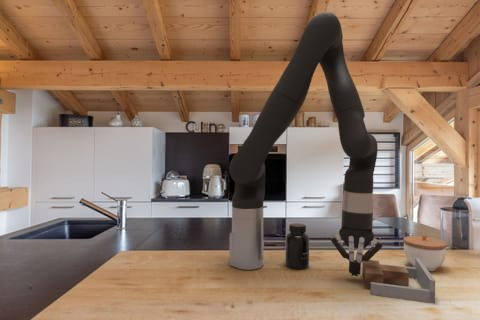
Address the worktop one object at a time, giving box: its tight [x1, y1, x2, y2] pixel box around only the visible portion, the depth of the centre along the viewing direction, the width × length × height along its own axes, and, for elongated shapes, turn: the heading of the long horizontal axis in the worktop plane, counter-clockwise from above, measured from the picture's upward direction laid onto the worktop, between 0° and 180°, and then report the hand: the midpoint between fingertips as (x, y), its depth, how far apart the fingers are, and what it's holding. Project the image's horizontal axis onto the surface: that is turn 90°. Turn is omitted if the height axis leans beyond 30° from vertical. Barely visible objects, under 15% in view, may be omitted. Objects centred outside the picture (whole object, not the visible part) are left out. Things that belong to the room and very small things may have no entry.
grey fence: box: [370, 258, 436, 304], centre depth 77 cm, size 13×15×5 cm
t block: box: [361, 259, 410, 290], centre depth 78 cm, size 10×10×4 cm
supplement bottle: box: [284, 223, 310, 270], centre depth 90 cm, size 7×7×12 cm
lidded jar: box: [402, 234, 448, 272], centre depth 89 cm, size 11×11×9 cm
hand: (354, 274), depth 80 cm, fingers closed
